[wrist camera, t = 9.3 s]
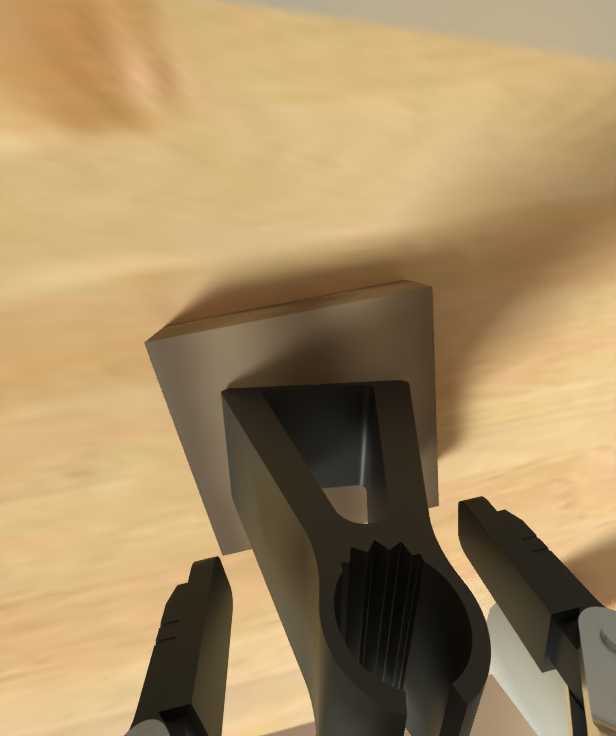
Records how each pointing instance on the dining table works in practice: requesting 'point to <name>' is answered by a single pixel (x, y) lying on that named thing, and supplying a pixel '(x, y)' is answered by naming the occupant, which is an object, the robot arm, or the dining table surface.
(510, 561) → the robot arm
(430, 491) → the walnut block
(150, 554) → the dining table surface
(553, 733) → the toilet tissue
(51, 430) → the dining table surface
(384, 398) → the phone stand
